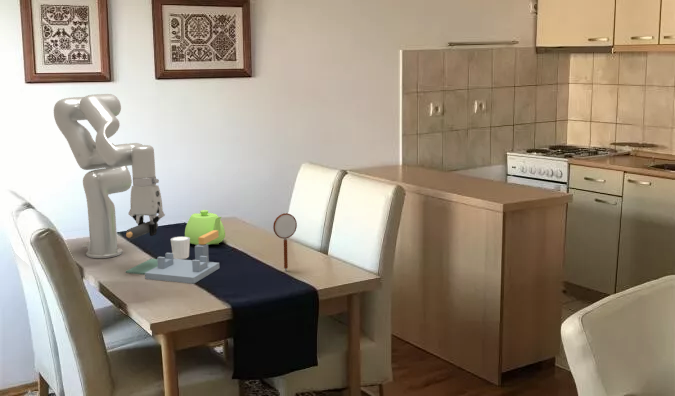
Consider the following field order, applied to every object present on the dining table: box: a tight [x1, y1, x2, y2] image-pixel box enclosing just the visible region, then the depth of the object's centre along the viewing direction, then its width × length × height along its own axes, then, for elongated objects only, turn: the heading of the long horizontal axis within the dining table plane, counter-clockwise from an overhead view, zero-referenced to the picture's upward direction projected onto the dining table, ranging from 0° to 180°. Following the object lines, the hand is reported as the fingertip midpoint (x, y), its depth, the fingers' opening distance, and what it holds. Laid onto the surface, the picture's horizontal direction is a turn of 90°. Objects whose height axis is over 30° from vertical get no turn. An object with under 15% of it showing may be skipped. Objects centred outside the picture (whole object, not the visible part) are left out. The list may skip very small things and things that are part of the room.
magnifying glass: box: [272, 212, 298, 272], centre depth 250 cm, size 9×2×20 cm, turn 120°
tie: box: [198, 230, 219, 245], centre depth 258 cm, size 2×11×2 cm, turn 162°
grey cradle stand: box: [144, 244, 220, 285], centre depth 249 cm, size 18×18×8 cm
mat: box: [125, 258, 158, 276], centre depth 257 cm, size 8×16×1 cm, turn 162°
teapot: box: [184, 209, 226, 246], centre depth 287 cm, size 22×15×13 cm
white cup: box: [170, 236, 191, 260], centre depth 269 cm, size 7×7×7 cm
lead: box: [125, 220, 159, 241], centre depth 251 cm, size 16×4×4 cm, turn 162°
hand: (147, 234), depth 254 cm, fingers closed on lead, 3 cm apart
